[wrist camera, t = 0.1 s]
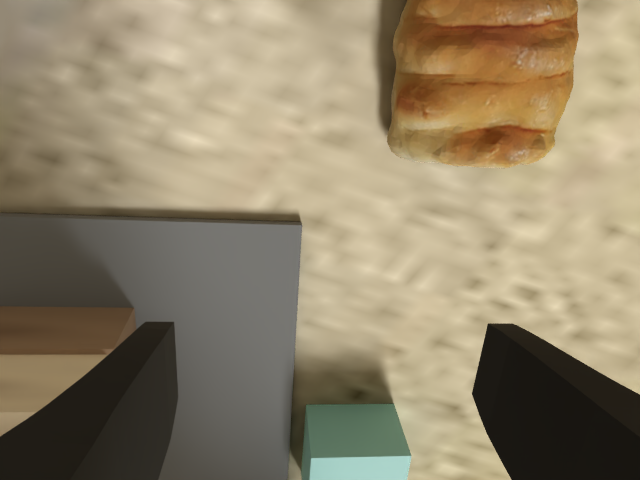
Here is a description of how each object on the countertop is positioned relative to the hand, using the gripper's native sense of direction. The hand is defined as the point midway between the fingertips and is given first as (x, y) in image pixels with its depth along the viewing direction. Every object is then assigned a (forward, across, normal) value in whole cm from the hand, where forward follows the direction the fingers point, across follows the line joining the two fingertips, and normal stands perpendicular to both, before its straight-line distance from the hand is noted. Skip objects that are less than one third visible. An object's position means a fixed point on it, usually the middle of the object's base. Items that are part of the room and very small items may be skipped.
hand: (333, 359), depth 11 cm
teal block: (+10, -3, +12) cm, 16 cm away
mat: (+10, +8, +9) cm, 16 cm away
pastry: (+10, -6, -7) cm, 14 cm away
